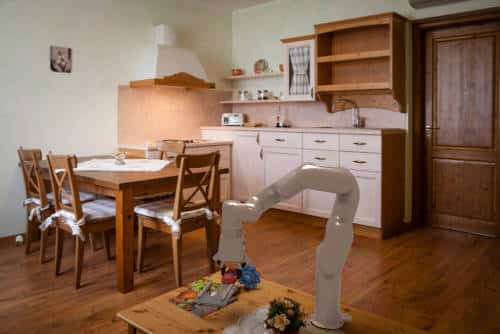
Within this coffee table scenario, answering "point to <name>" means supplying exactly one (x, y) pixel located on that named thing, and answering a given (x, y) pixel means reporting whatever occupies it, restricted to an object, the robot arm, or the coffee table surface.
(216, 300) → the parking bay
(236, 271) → the race car
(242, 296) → the coffee table surface
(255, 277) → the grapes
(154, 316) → the coffee table surface
